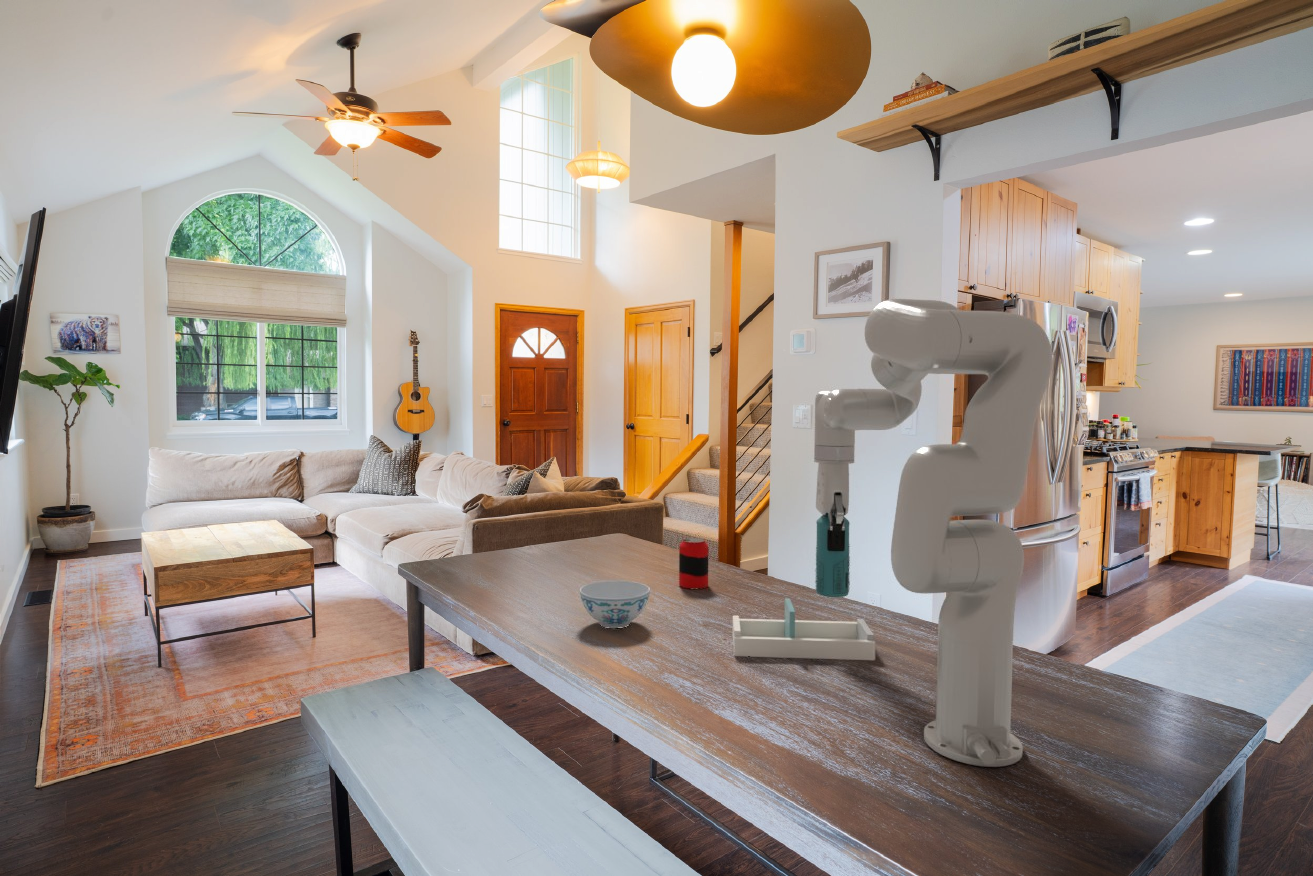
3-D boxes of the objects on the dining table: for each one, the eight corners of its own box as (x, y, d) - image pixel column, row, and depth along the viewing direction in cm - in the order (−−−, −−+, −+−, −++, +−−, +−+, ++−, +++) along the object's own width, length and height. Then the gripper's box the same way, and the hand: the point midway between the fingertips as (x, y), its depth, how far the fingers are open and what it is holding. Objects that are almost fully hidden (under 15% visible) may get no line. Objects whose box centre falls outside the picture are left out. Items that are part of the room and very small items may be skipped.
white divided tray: (875, 660, 133) (875, 637, 133) (734, 656, 135) (734, 633, 135) (861, 638, 146) (861, 617, 145) (732, 634, 148) (732, 613, 147)
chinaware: (568, 631, 149) (568, 595, 149) (595, 611, 164) (595, 578, 163) (636, 639, 145) (636, 601, 145) (658, 617, 159) (658, 583, 159)
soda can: (679, 582, 191) (679, 537, 190) (707, 582, 191) (708, 537, 190) (678, 589, 183) (679, 543, 183) (708, 590, 183) (709, 543, 182)
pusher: (794, 651, 136) (795, 611, 136) (789, 651, 136) (789, 611, 136) (789, 635, 145) (789, 598, 145) (784, 635, 145) (784, 598, 145)
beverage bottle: (850, 606, 136) (852, 501, 135) (814, 604, 137) (816, 500, 136) (848, 597, 142) (850, 496, 141) (814, 595, 144) (815, 495, 142)
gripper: (808, 451, 147) (807, 538, 148) (821, 458, 130) (819, 556, 131) (845, 451, 147) (844, 538, 147) (863, 458, 129) (861, 557, 130)
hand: (832, 546), depth 139 cm, fingers closed on beverage bottle, 6 cm apart
